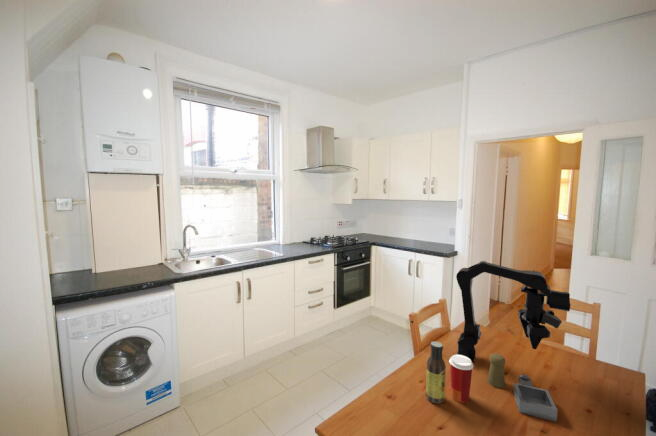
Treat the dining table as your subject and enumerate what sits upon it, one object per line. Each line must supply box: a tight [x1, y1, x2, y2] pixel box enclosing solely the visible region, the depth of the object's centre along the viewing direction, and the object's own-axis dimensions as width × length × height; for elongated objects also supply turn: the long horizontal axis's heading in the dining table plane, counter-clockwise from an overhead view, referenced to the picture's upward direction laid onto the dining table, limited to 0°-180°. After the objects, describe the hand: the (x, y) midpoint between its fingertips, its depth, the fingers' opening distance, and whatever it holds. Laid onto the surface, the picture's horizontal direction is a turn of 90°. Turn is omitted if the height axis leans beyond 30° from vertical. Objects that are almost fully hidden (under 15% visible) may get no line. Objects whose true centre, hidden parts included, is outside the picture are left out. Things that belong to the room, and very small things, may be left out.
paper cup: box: [448, 354, 475, 404], centre depth 101 cm, size 8×8×14 cm
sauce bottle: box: [425, 341, 447, 404], centre depth 100 cm, size 6×6×20 cm
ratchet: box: [512, 373, 559, 423], centre depth 101 cm, size 10×19×5 cm, turn 157°
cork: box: [486, 353, 506, 389], centre depth 109 cm, size 6×6×11 cm
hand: (530, 342), depth 112 cm, fingers open, 9 cm apart
